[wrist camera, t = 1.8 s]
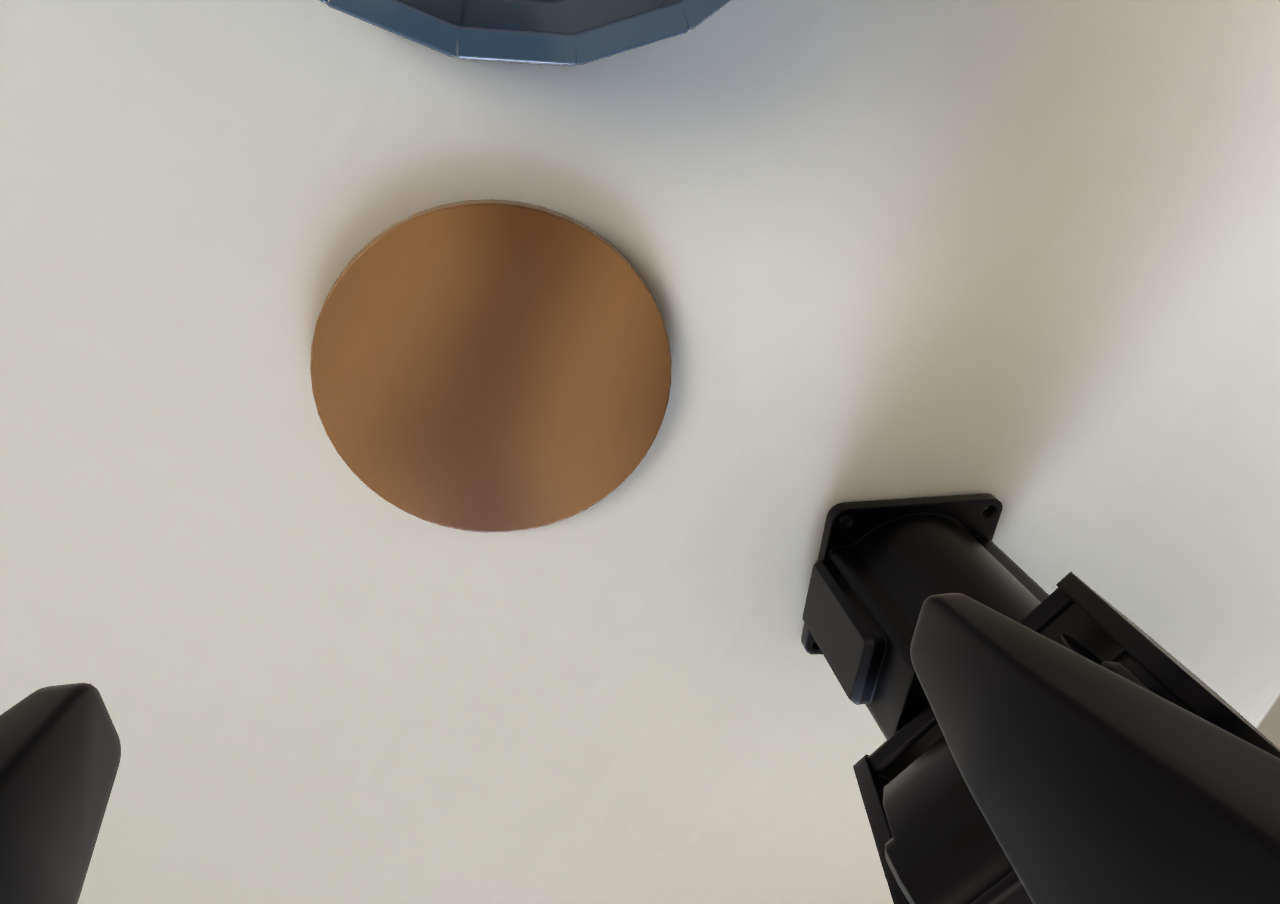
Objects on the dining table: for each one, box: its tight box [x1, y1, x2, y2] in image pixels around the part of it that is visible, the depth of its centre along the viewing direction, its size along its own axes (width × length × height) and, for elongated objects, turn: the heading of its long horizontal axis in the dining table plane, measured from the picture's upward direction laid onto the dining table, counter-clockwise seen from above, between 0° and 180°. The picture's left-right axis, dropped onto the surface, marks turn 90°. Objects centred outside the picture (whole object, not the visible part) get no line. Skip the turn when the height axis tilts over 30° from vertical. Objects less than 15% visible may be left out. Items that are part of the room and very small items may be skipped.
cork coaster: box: [310, 200, 671, 533], centre depth 20 cm, size 10×10×1 cm
